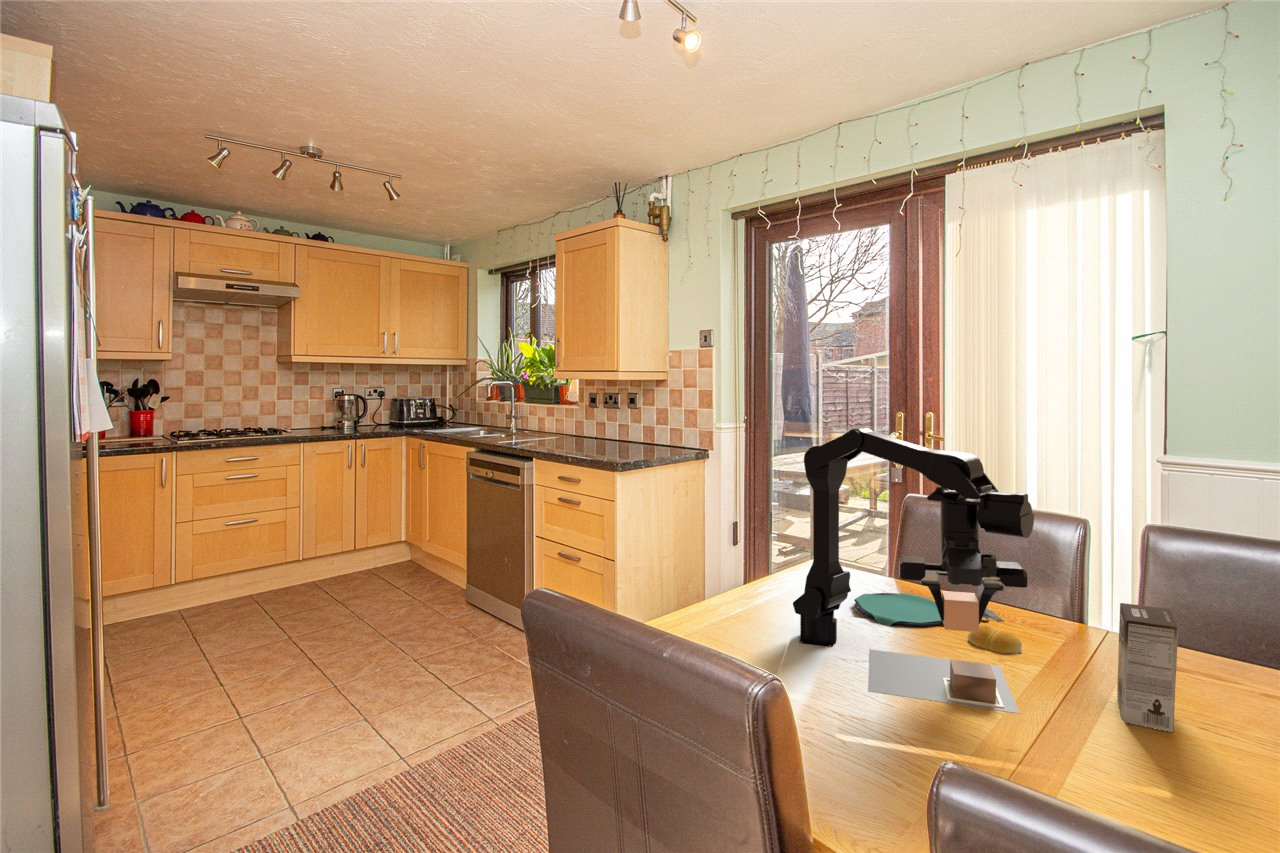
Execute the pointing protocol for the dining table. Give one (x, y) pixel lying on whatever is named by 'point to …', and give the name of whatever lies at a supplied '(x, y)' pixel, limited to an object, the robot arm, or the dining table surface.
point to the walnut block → (972, 681)
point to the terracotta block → (960, 611)
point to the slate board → (927, 680)
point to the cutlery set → (904, 609)
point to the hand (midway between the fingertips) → (960, 621)
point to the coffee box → (1147, 666)
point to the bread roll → (995, 640)
